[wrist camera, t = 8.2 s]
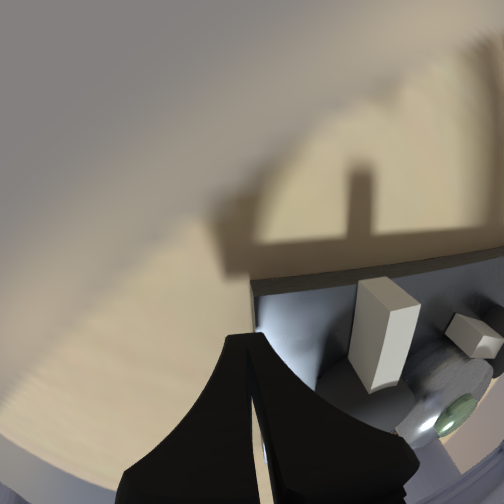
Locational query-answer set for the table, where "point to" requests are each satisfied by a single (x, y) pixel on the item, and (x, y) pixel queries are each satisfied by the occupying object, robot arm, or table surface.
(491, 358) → the knob
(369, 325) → the knob
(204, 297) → the table surface
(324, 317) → the plate
